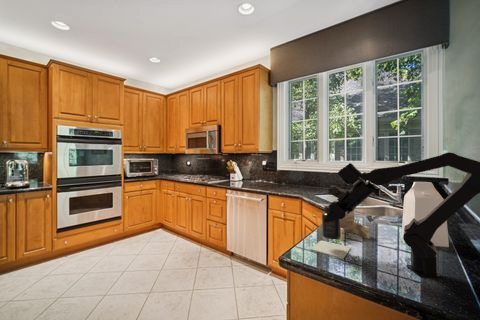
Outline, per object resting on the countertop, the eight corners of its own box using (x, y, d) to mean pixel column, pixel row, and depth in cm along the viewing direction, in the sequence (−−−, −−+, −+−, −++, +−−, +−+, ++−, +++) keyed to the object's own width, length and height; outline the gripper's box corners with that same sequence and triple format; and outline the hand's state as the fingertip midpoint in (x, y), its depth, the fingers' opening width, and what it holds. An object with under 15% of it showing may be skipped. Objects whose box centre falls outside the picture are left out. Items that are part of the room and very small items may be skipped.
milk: (432, 237, 97) (431, 181, 98) (448, 247, 86) (447, 183, 87) (401, 235, 101) (401, 180, 101) (413, 243, 90) (413, 182, 90)
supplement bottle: (344, 238, 83) (344, 207, 83) (332, 241, 79) (332, 209, 80) (329, 233, 89) (329, 204, 89) (318, 235, 85) (317, 206, 86)
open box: (369, 238, 96) (369, 209, 96) (342, 240, 93) (341, 211, 93) (352, 231, 106) (352, 205, 107) (327, 232, 104) (327, 206, 104)
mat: (350, 248, 85) (350, 247, 85) (343, 258, 76) (343, 257, 76) (320, 241, 93) (320, 240, 93) (310, 249, 83) (310, 248, 83)
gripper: (346, 177, 89) (320, 200, 96) (334, 180, 75) (304, 207, 82) (368, 197, 84) (339, 221, 91) (359, 204, 70) (325, 231, 76)
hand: (327, 219), depth 85 cm, fingers closed on supplement bottle, 7 cm apart
